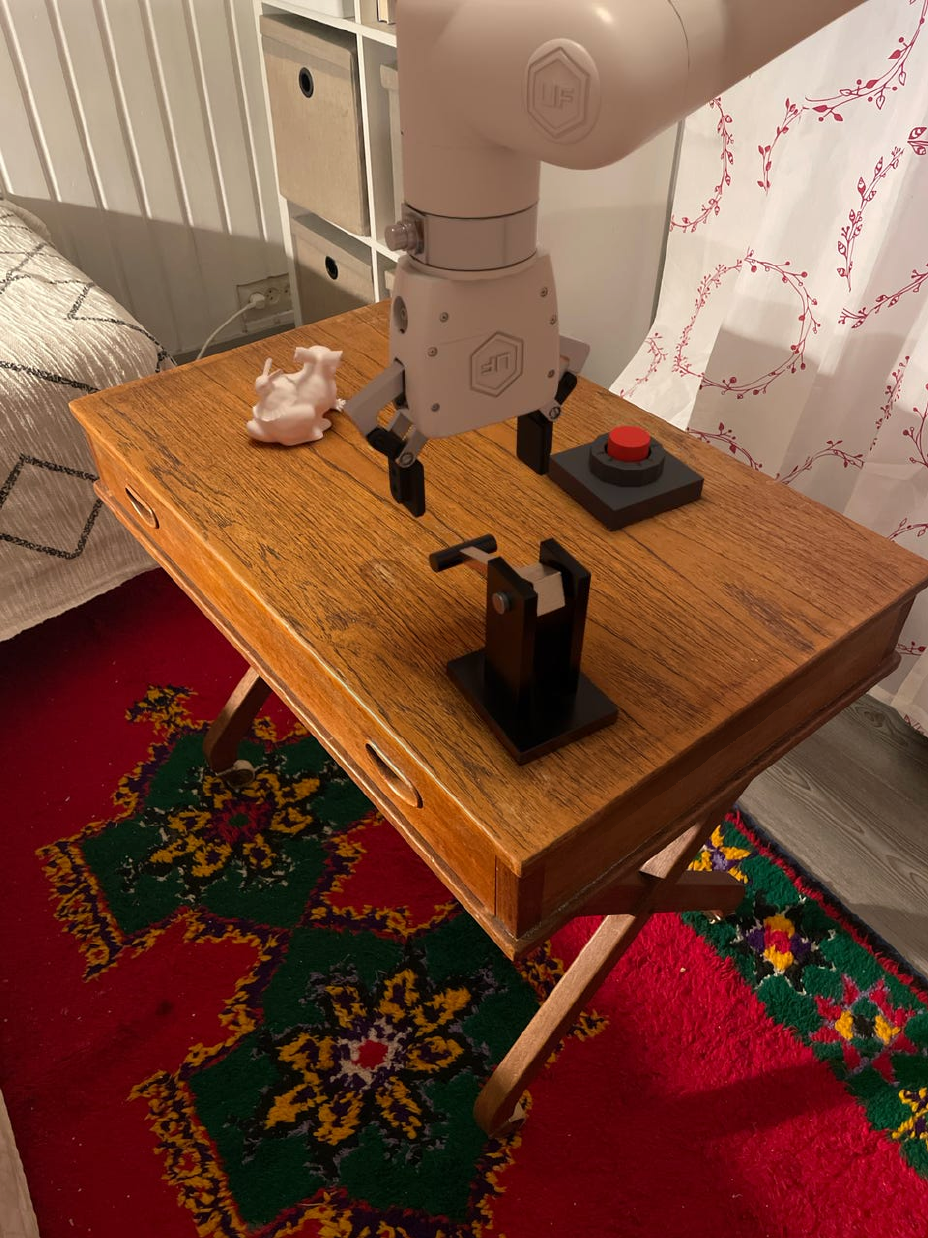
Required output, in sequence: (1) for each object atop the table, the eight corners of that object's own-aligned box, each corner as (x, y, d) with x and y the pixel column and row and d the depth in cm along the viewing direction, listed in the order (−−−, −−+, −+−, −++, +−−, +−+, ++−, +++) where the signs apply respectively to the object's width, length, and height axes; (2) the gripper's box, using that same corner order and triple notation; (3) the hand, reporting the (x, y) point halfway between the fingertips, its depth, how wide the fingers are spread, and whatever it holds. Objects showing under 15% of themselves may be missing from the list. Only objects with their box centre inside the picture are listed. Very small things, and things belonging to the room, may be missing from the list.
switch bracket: (445, 673, 70) (444, 544, 62) (537, 636, 73) (547, 508, 66) (520, 766, 64) (529, 634, 56) (617, 721, 67) (639, 590, 59)
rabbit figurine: (344, 399, 100) (337, 310, 94) (382, 431, 96) (377, 339, 89) (237, 433, 95) (222, 340, 89) (272, 468, 90) (258, 373, 84)
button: (630, 438, 88) (633, 421, 87) (655, 457, 86) (658, 440, 85) (598, 449, 87) (601, 432, 86) (623, 468, 84) (625, 450, 83)
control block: (632, 447, 94) (637, 410, 91) (700, 498, 87) (708, 460, 85) (546, 475, 90) (549, 438, 87) (611, 531, 83) (616, 492, 81)
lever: (431, 576, 70) (425, 545, 69) (490, 555, 72) (485, 525, 71) (518, 624, 60) (513, 590, 59) (584, 599, 62) (579, 564, 61)
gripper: (362, 284, 49) (384, 554, 60) (634, 221, 55) (608, 475, 67) (303, 239, 54) (334, 496, 65) (560, 186, 60) (547, 428, 72)
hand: (472, 485), depth 66 cm, fingers open, 9 cm apart
